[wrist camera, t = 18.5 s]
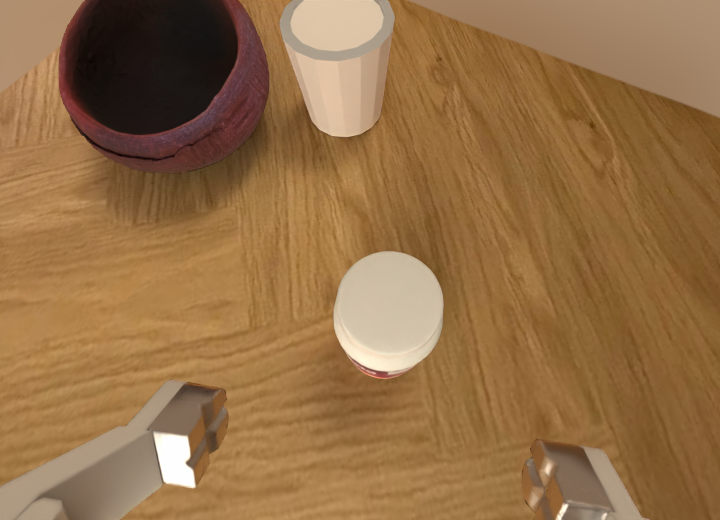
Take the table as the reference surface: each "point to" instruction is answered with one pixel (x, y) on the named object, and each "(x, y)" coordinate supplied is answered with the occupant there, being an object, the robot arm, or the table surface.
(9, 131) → the table surface
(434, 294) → the pill bottle
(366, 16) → the shot glass
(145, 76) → the bowl
